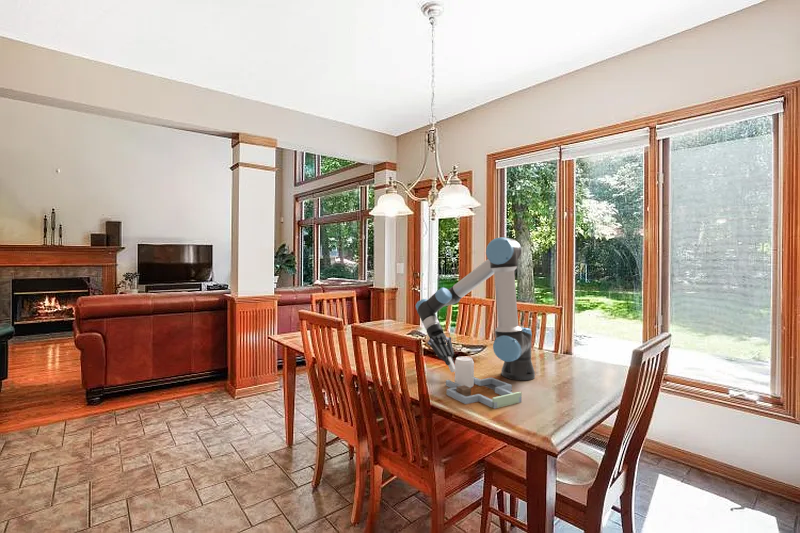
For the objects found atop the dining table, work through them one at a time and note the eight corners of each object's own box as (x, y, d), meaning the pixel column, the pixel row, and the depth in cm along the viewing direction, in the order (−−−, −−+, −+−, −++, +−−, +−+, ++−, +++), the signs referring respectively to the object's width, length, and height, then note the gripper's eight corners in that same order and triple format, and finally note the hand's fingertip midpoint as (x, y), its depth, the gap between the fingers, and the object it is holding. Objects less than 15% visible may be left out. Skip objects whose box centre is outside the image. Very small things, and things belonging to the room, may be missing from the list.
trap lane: (433, 388, 167) (433, 382, 167) (481, 378, 181) (481, 373, 180) (480, 412, 141) (480, 405, 141) (533, 399, 154) (533, 393, 154)
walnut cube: (456, 396, 156) (456, 386, 156) (464, 395, 158) (464, 385, 158) (462, 399, 153) (462, 389, 153) (470, 398, 155) (470, 388, 155)
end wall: (492, 408, 145) (492, 397, 145) (519, 401, 152) (519, 391, 152) (494, 409, 144) (494, 398, 144) (521, 402, 151) (521, 392, 151)
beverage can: (452, 383, 174) (453, 356, 174) (470, 382, 175) (471, 356, 175) (457, 389, 166) (457, 361, 166) (475, 389, 167) (476, 360, 166)
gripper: (441, 331, 196) (461, 373, 182) (418, 333, 190) (438, 377, 176) (447, 321, 191) (469, 364, 177) (424, 324, 185) (445, 368, 171)
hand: (453, 370), depth 176 cm, fingers closed
